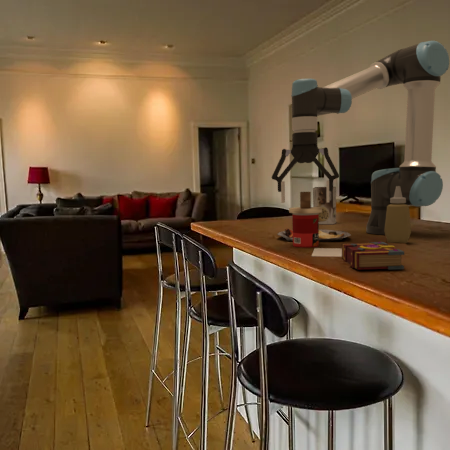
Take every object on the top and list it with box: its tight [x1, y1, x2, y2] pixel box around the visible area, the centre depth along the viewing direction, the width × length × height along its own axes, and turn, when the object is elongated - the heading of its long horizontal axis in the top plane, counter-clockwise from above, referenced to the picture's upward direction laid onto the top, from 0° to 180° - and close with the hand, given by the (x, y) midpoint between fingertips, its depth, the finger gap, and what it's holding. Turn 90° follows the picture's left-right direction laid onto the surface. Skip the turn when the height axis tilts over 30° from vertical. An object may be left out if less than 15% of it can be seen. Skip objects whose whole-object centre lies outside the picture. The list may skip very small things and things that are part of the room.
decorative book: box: [341, 241, 405, 271], centre depth 126 cm, size 11×16×5 cm
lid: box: [288, 191, 322, 214], centre depth 155 cm, size 10×10×6 cm
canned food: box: [291, 213, 320, 249], centre depth 156 cm, size 8×8×11 cm
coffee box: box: [312, 186, 337, 225], centre depth 222 cm, size 9×6×16 cm
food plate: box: [276, 228, 352, 243], centre depth 176 cm, size 25×23×4 cm
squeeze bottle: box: [384, 186, 412, 244], centre depth 160 cm, size 8×8×18 cm
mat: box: [311, 247, 342, 258], centre depth 143 cm, size 14×14×1 cm
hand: (305, 202), depth 155 cm, fingers open, 13 cm apart
